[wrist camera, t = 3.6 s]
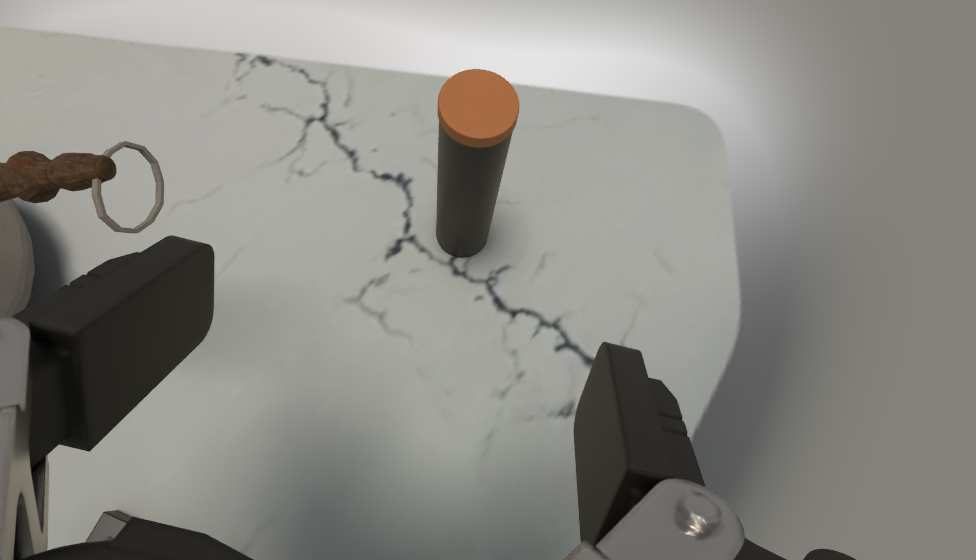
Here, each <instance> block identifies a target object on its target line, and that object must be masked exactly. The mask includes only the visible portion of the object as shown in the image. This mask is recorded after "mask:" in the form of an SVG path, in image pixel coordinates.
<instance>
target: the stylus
mask: <svg viewBox="0 0 976 560" xmlns="http://www.w3.org/2000/svg"><path fill="white" fill-rule="evenodd" d="M518 113H519V100H518V96H517V94H516V92H515V90H514V88H513V87H512V86H511V84H510V83H509V82H508V81H507V80H505V79H504V78H503V77H501V76H500V75H498V74H496V73H493V72H491V71H486V70H480V69H472V70H466V71H463V72H459V73H457V74H455V75H454V76H452V77H451V78H450V79H448V80H447V81H446V83H445V84H444V85H443V87H442V88H441V90H440V93H439V97H438V118H439V142H438V183H437V224H436V236H437V240H438V242H439V244H440V246H441V247H442V248H443V250H445V251H446V252H447V253H449V254H451V255H453V256H457V257H468V256H472V255H474V254H476V253H478V252H479V251H480V250H481V249H482V248H483V247H484V245H485V243H486V241H487V237H488V232H489V228H490V224H491V220H492V216H493V211H494V207H495V203H496V199H497V195H498V191H499V186H500V182H501V178H502V174H503V170H504V165H505V161H506V157H507V153H508V149H509V145H510V140H511V136H512V132H513V129H514V128H515V125H516V122H517V118H518Z"/></svg>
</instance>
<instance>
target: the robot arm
mask: <svg viewBox="0 0 976 560" xmlns="http://www.w3.org/2000/svg"><path fill="white" fill-rule="evenodd" d="M213 309H214V251H213V248H212V247H211V246H210V245H209V244H205V243H201V242H197V241H193V240H189V239H185V238H180V237H176V236H167V237H165V238H164V239H162V240H160V241H159V242H157V243H155V244H154V245H152V246H151V247H149V248H147V249H146V250H144V251H142V252H141V253H139V252H135V253H132V254H128V255H125V256H121V257H117V258H114V259H110V260H108V261H106V262H104V263H103V264H101V265H99V266H97V267H96V268H94V269H92V270H91V271H89V272H88V273H87V275H82V276H80V277H79V278H77V279H75V280H73V281H72V282H70V285H69V286H68V285H65V286H63V287H61V288H60V289H58V290H56V291H55V292H53V293H51V294H49V295H48V296H46V297H44V298H43V299H41V300H39V301H37V302H36V303H34V304H32V305H31V306H29V307H27V308H25V309H24V310H22V311H20V312H19V313H17V314H15V315H13V316H12V317H6V316H0V560H253V559H251V558H249V557H247V556H246V555H244V554H242V553H240V552H238V551H236V550H234V549H232V548H231V547H229V546H227V545H225V544H223V543H221V542H219V541H218V540H216V539H214V538H212V537H210V536H208V535H206V534H204V533H199V532H195V531H191V530H187V529H182V528H178V527H174V526H170V525H166V524H161V523H157V522H153V521H149V520H144V519H140V518H136V517H131V518H130V520H129V521H128V522H127V523H126V525H125V526H124V527H123V528H122V530H121V531H120V532H119V533H118V535H117V536H116V537H115V538H114V539H113V540H106V541H96V542H85V543H79V544H74V545H68V546H63V547H59V548H55V549H51V550H48V551H47V544H48V502H49V462H48V454H49V453H50V452H51V451H52V450H53V449H54V448H55V447H56V446H58V445H59V444H60V445H64V446H68V447H73V448H77V449H81V450H85V451H89V452H90V451H91V450H92V449H93V448H94V447H95V446H96V445H97V444H98V443H99V442H100V441H101V440H102V439H103V438H104V437H105V436H106V435H107V434H108V433H109V432H110V431H111V430H112V429H113V428H114V427H115V426H116V425H117V424H118V423H119V422H120V421H121V420H122V419H123V418H124V417H125V416H126V415H127V414H128V413H129V412H130V411H131V410H132V409H133V408H135V407H136V406H137V405H138V404H139V403H140V402H141V401H142V400H143V399H144V398H145V397H146V396H147V395H148V394H149V393H150V392H151V391H152V390H153V389H154V388H155V387H156V386H157V385H158V384H159V383H160V382H161V381H162V380H163V379H164V378H165V377H166V376H167V375H168V374H169V373H170V372H171V371H172V370H173V369H174V368H175V367H176V366H177V365H178V364H179V363H181V362H182V361H183V360H184V359H185V358H186V357H187V356H188V355H189V354H190V353H191V352H192V351H193V350H194V349H195V348H196V347H197V346H198V345H199V344H200V343H201V342H202V341H203V339H204V338H205V336H206V335H207V333H208V331H209V328H210V326H211V323H212V319H213ZM574 445H575V460H576V476H577V491H578V507H579V522H580V538H581V543H580V544H579V545H578V546H577V547H576V548H575V549H573V550H572V551H571V552H570V553H569V554H568V555H567V556H566V557H565V558H564V559H563V560H786V559H784V558H782V557H780V556H778V555H776V554H774V553H772V552H770V551H768V550H766V549H764V548H762V547H760V546H758V545H756V544H754V543H752V542H751V541H749V540H748V539H746V538H745V536H744V530H743V526H742V523H741V522H740V520H739V518H738V516H737V515H736V513H735V512H734V511H733V509H732V508H731V507H730V506H729V505H728V504H727V503H726V502H725V501H724V500H723V499H722V498H721V497H719V496H718V495H717V494H715V493H714V492H712V491H710V490H709V489H707V488H706V487H705V484H704V481H703V478H702V475H701V472H700V469H699V466H698V463H697V460H696V457H695V454H694V451H693V448H692V445H691V442H690V439H689V437H687V430H686V427H685V424H684V421H682V415H681V412H680V409H679V406H678V403H677V399H676V398H675V397H674V396H673V394H672V393H671V392H670V391H669V390H668V388H667V387H666V386H665V385H664V384H663V382H662V381H660V380H656V379H652V378H648V375H647V371H646V368H645V364H644V360H643V357H642V354H641V352H640V351H639V350H636V349H632V348H627V347H623V346H619V345H615V344H611V343H607V342H603V343H602V344H601V346H600V347H599V349H598V352H597V354H596V357H595V360H594V363H593V365H592V368H591V371H590V373H589V376H588V379H587V382H586V384H585V387H584V390H583V392H582V395H581V398H580V401H579V403H578V407H577V411H576V415H575V422H574ZM804 560H856V559H854V558H852V557H850V556H848V555H846V554H843V553H840V552H837V551H834V550H829V549H817V550H813V551H811V552H809V553H808V554H807V555H806V557H805V558H804Z"/></svg>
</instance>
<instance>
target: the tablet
mask: <svg viewBox="0 0 976 560" xmlns="http://www.w3.org/2000/svg"><path fill="white" fill-rule="evenodd" d="M130 518H131V517H130V516H128V515H126V514H123V513H121V512H119V511H117V510H116V511H107V512H104V513H103V514H102V516H101V518H100V519H99V521H98V522H97V524H96V526H95V527H94V529H93V531H92V532H91V534H90V536H89V537H88V539H87V541H86V542H96V541H106V540H113V539H114V538H115V537H116V536H117V535H118V533H119V532H120V531H121V530H122V528H123V527H124V526H125V525H126V523H127V522H128V521H129V520H130Z"/></svg>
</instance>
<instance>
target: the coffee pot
mask: <svg viewBox="0 0 976 560" xmlns="http://www.w3.org/2000/svg"><path fill="white" fill-rule="evenodd" d="M123 147H127V148H131V149H135V150H138V151H139V152H140V153H141V154H142V155H143V156H144V157H145V158H146V159H147V161H148V162H149V163H150V164H151V167H152V171H153V174H154V178H155V181H156V203H155V205H154V207H153V209H152V210H151V212H150V214H149V216H148V217H147V219H146V220H145V221H144V222H142V223H141V224H140V225H138V226H137V227H135V228H134V229H131V228H121V227H120V226H119V225H118V224H117V223H116V222H115V221H113V220H112V219H111V218H110V217H109V216H108V215H107V214H106V211H105V207H104V204H103V200H102V196H101V183H103V182H104V181H108V180H111V179H112V178H114V177H115V175H116V165H115V163H114V162H113V160H112V159H111V158H110V157H111V156H112V154H113V153H115V152H116V151H118V150H120V149H121V148H123ZM91 187H92V198H93V201H94V204H95V208H96V211H97V215H98V217H99V218H100V219H101V220H102V221H103V222H105V223H106V224H107V225H108V226H109V227H110V228H111V229H113V230H114V231H115V232H125V233H139V232H140V231H142V230H143V229H145V228H146V227H147V226H149V225H150V224H152V223H153V222H154V220H155V218H156V217H157V215H158V213H159V211H160V210H161V208H162V206H163V203H164V180H163V177H162V174H161V170H160V167H159V164H158V161H157V160H156V159H155V158H154V157H153V155H152V154H151V153H150V152H149V151H148V150H147V149H146V148H145V147H144V146H141V145H137V144H134V143H130V142H127V141H125V142H120V143H118V144H117V145H115V146H113V147H111V148H110V149H108V150H106V151H105V152H104V153H103V155H94V154H91V153H63V154H61V155H59V156H57V157H56V158H54V159H53V160H50V159H48V158H47V157H46V156H44V155H43V154H40V153H37V152H34V151H24V152H18V153H17V154H15V155H13V156H11V157H10V158H9V159H8V161H7V162H6V163H0V316H6V317H12V316H13V315H15V314H17V313H19V312H20V311H22V310H24V309H25V308H26V306H27V304H28V302H29V300H30V295H31V289H32V284H33V278H34V272H35V263H34V256H33V248H32V241H31V237H30V234H29V231H28V229H27V227H26V225H25V223H24V221H23V219H22V217H21V215H20V213H19V211H18V209H17V207H16V205H15V203H14V202H13V201H12V199H13V198H16V197H19V198H20V199H22V200H24V201H28V202H32V203H40V202H48V201H49V200H51V199H52V198H54V197H55V196H56V195H57V193H58V191H59V190H60V188H62V189H66V190H70V191H79V190H84V189H88V188H91Z"/></svg>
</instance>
